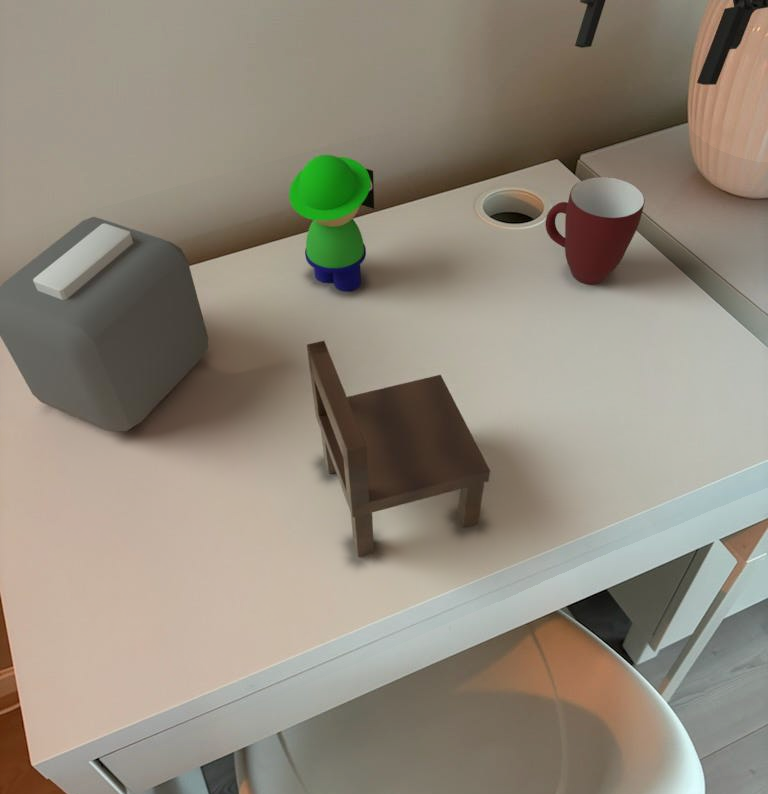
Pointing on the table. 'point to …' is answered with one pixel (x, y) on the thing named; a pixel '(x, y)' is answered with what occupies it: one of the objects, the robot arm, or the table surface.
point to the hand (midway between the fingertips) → (645, 65)
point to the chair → (394, 446)
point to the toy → (333, 216)
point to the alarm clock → (103, 323)
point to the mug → (597, 226)
